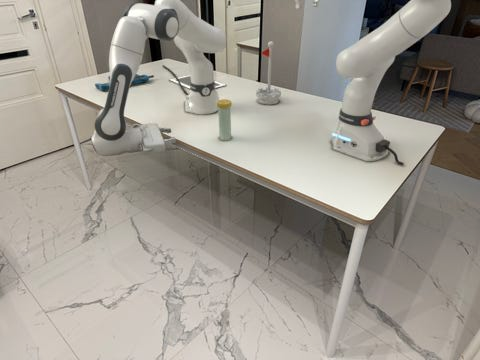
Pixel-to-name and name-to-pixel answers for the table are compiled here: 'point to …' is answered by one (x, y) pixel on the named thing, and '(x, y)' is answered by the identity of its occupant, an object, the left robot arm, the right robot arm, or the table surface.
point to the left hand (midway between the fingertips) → (173, 134)
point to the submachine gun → (136, 80)
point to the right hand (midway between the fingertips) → (307, 7)
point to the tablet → (187, 79)
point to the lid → (224, 103)
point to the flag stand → (268, 94)
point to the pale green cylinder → (224, 123)
